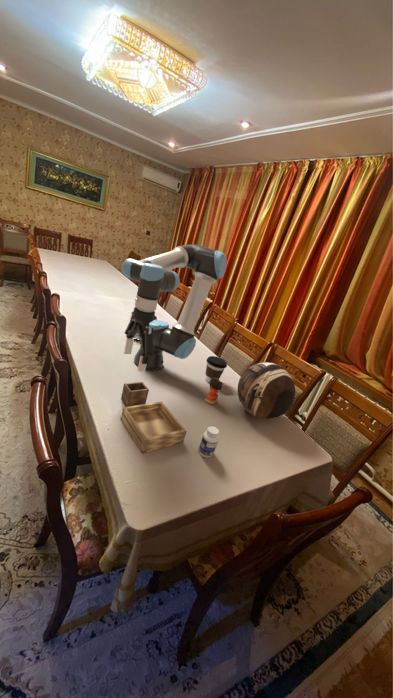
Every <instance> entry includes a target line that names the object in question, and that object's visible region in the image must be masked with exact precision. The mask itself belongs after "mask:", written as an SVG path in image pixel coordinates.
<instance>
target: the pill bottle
mask: <svg viewBox="0 0 393 698" xmlns="http://www.w3.org/2000/svg"><path fill="white" fill-rule="evenodd" d="M219 433H220V430H219V428H217V427H215V426H213V425H212V426H211V425H210V426H207V430H206V431H204V433H203V436H202V437H201V440H200V444H199V447H198V453H199V455H201V456H202V457H204V458H212V457H213V456H214V453H215V451H216V448H217V445H218V442H219V440H220V438H219Z"/></svg>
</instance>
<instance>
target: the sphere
mask: <svg viewBox="0 0 393 698" xmlns="http://www.w3.org/2000/svg"><path fill="white" fill-rule="evenodd" d="M237 395H238V396H237V397H238V399H239V403H240V404H241V406H242V408H243V409H244V410H245V411H246V412H248V414H250V415H251V416H253V417H255V418H257V419H262V420H273V419H277V418H280V417H282V416H283V415H285V414H286V413H288V411H289V410H290V409H291V407H292V406H293V404H294V402H295V398H296V386H295V382H294V379H293V377H292V376H291V374H290V373H289V372H288V371H287V370H286V369H285V368H283V367H282V366H281V365H279V364H276V363H274V362H267V361H266V362H257V363H254V364H252V365H251V366H249V367H248V368H246V370H245V371H244V372H243V373H242V374H241V376H240V378H239V380H238V384H237Z"/></svg>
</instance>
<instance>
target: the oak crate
mask: <svg viewBox="0 0 393 698" xmlns="http://www.w3.org/2000/svg"><path fill="white" fill-rule="evenodd" d="M120 420H121V421H122V424H123V425H124V426H125V428H126V430H127V431H128V432H129V434H130V436H131V437H132V439H133V440H134V442H135V444H136V446H137V447H138V449H139V450H140V452H141V453H142V454H145V453H149V452H152V451H155V450H159V449H163V448H166V447H171V446H173V445H178V444H180V443H181V444H182V443H184V440H185V438H186V434H187V429H186V428H185V427H184V426H183V425H182V423H181V422H180V421H179V420H178V419H177V417H176V416H175V415H174V414H173V412H171V410H170V409H169V408H168V407H167V406H166V404H165V403H164V402H163V401H155V402H151V403H150V402H149V403H146V404H142V405H135V406H129V407H127V406H124V407H122V411H121V416H120Z"/></svg>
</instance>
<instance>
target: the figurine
mask: <svg viewBox="0 0 393 698" xmlns="http://www.w3.org/2000/svg"><path fill="white" fill-rule="evenodd" d="M222 389H223V381H221V380H220V378H219V379H218V378H216V377H213V378H212V379H211V380H210V383H209V392H208V393H207V395H206V398H204V400H203V401H204V402H205V403H207V404H210V405H214V404H217V401H218V399H219V394H218V393H219V391H221V390H222Z"/></svg>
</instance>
